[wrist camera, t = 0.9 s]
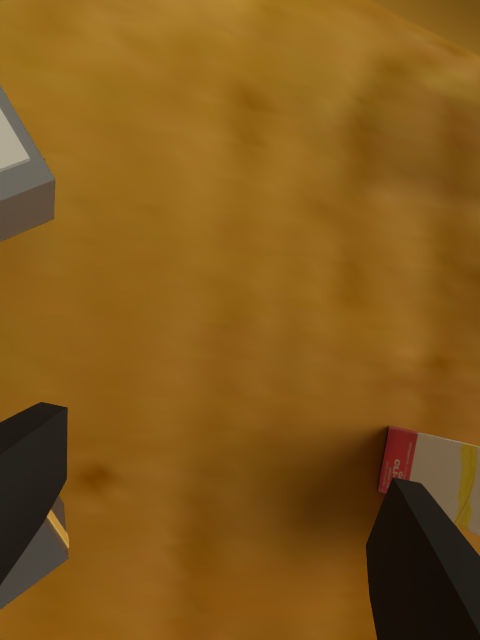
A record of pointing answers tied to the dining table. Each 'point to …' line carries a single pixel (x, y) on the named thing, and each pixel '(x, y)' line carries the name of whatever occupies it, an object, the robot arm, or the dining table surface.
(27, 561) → the block
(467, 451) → the ink box
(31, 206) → the pale grey flat box
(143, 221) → the dining table surface
